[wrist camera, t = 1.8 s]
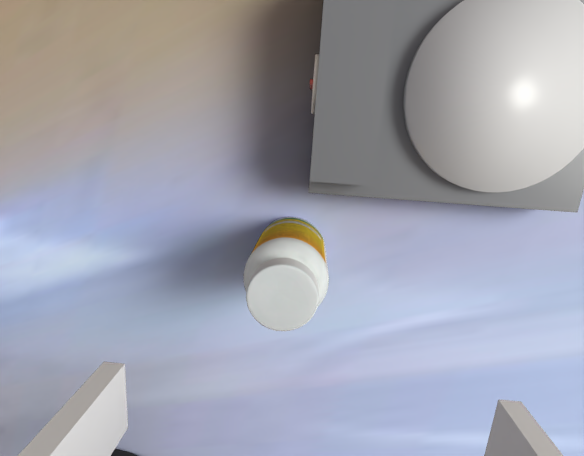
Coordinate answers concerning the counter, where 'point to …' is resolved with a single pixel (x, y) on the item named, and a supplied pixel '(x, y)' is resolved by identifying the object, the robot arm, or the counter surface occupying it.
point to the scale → (451, 102)
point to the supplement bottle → (286, 274)
